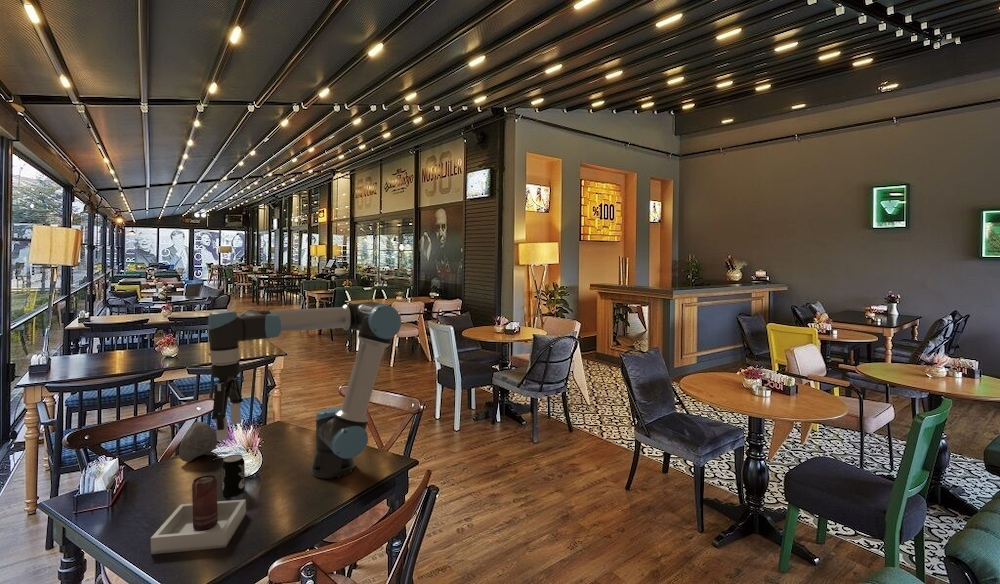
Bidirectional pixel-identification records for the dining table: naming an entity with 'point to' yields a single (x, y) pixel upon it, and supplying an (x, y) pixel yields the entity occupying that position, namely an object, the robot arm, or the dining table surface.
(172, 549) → the bus tub
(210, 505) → the can
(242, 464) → the beverage can
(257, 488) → the dining table surface
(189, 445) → the decorative stone
